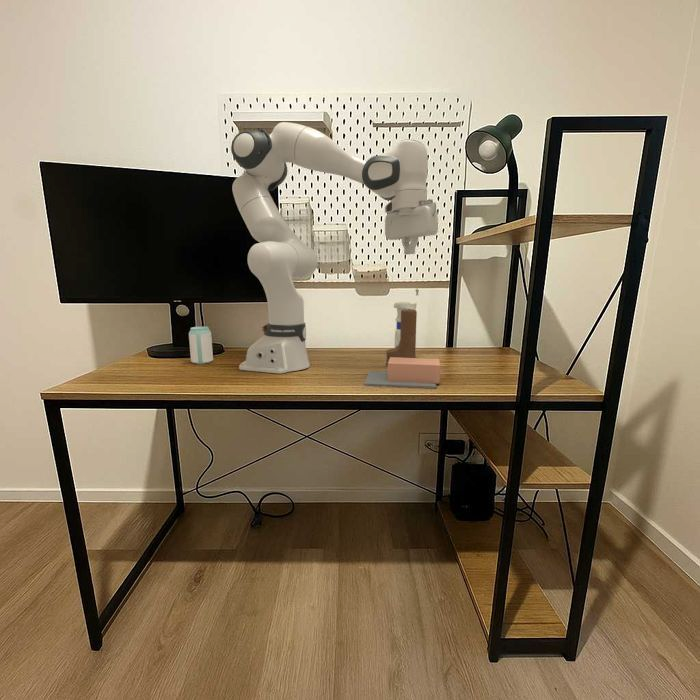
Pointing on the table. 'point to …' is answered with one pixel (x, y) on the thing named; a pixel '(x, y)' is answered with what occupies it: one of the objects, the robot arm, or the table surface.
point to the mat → (382, 380)
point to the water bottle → (400, 307)
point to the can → (200, 345)
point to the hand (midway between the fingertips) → (409, 254)
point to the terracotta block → (414, 370)
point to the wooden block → (405, 336)
